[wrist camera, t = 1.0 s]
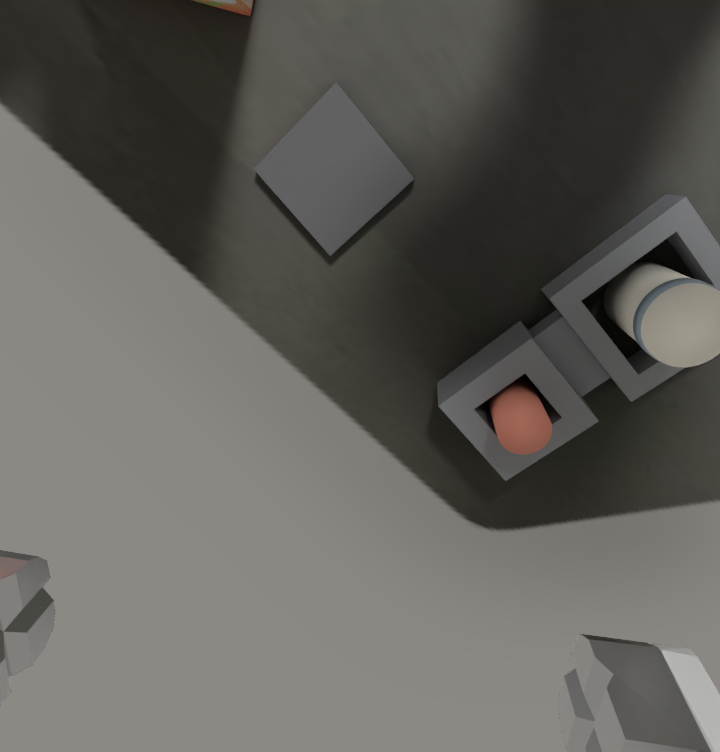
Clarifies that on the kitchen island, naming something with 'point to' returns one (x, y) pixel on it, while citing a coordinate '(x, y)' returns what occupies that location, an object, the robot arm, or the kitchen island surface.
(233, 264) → the kitchen island surface
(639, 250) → the housing
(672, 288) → the cartridge
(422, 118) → the kitchen island surface
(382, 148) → the pad
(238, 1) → the cracker box
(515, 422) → the plunger
